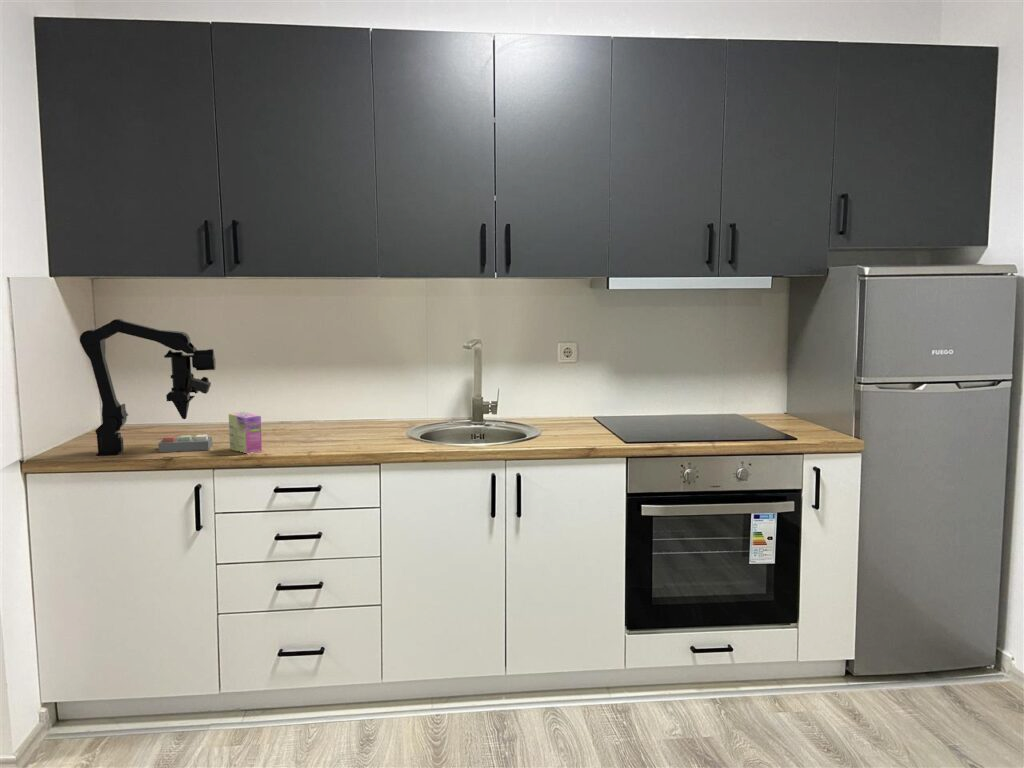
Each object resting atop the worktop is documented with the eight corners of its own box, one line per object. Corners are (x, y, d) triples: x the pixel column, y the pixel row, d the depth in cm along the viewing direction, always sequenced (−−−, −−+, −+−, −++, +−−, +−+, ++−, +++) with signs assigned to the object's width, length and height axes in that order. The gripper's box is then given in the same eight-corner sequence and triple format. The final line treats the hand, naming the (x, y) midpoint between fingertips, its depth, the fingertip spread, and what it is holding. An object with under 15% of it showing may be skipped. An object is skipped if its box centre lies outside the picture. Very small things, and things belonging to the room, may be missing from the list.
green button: (179, 443, 254) (179, 437, 253) (181, 441, 257) (181, 435, 256) (190, 443, 254) (189, 437, 254) (192, 441, 257) (191, 435, 257)
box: (262, 451, 252) (261, 415, 250) (246, 454, 248) (244, 417, 246) (245, 447, 259) (244, 411, 257) (229, 449, 255) (227, 413, 253)
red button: (163, 444, 253) (162, 438, 252) (165, 442, 256) (164, 436, 255) (173, 443, 253) (173, 437, 253) (175, 441, 256) (175, 435, 256)
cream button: (195, 442, 255) (195, 436, 254) (197, 440, 258) (197, 434, 257) (206, 442, 255) (206, 436, 255) (208, 440, 258) (207, 434, 258)
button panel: (158, 452, 251) (158, 443, 250) (164, 447, 258) (163, 438, 257) (208, 450, 254) (207, 441, 253) (212, 445, 261) (211, 436, 260)
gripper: (202, 373, 245) (205, 423, 247) (212, 367, 263) (215, 413, 265) (164, 374, 243) (167, 424, 245) (177, 368, 261) (180, 414, 263)
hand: (184, 418), depth 254 cm, fingers closed
